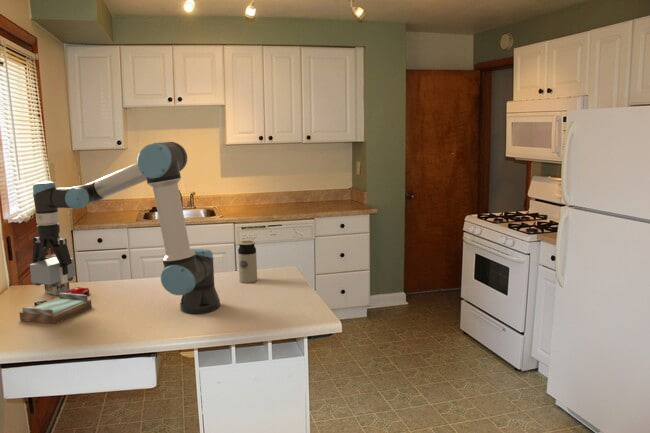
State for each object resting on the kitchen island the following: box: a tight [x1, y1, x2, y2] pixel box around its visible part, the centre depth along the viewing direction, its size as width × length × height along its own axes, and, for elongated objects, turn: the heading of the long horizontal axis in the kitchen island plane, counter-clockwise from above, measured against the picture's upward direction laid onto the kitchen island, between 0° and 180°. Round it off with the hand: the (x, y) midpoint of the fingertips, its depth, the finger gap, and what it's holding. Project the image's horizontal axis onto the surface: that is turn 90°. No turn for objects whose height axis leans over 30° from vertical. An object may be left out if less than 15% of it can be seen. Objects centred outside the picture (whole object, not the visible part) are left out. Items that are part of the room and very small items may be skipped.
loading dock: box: [18, 293, 93, 325], centre depth 211 cm, size 16×19×5 cm
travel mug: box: [237, 239, 258, 284], centre depth 249 cm, size 8×8×18 cm
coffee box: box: [43, 253, 71, 296], centre depth 237 cm, size 9×6×16 cm
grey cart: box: [29, 257, 76, 287], centre depth 209 cm, size 9×12×8 cm
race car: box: [66, 286, 90, 296], centre depth 230 cm, size 13×5×4 cm, turn 157°
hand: (54, 281), depth 209 cm, fingers closed on grey cart, 9 cm apart
